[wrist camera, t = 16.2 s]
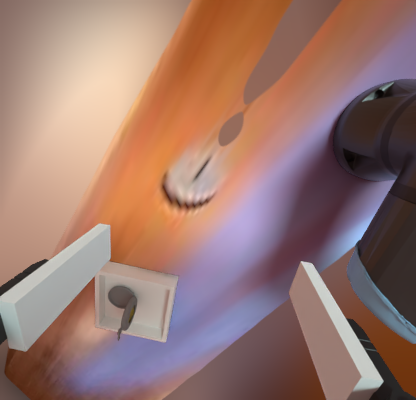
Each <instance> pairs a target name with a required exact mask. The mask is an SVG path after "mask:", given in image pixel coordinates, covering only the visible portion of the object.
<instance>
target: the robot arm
mask: <svg viewBox="0 0 416 400" xmlns="http://www.w3.org/2000/svg"><path fill="white" fill-rule="evenodd" d="M333 146H334V152H335V156H336V158H337V160H338V162H339V163H340V165H341V166H342V167H343V168H344V169H345V170H346V171H348V172H349V173H351V174H353V175H355V176H358V177H360V178H363V179H367V180H372V181H388V180H395V182H394V184H393V186H392V187H391V189H390V191H389V192H388V194H387V195H386V197H385V199H384V201H383V202H382V204H381V206H380V207H379V209H378V211H377V213H376V214H375V216H374V218H373V219H372V221H371V223H370V225H369V226H368V228H367V230H366V232H365V233H364V235H363V237H362V238H361V240H359V241H358V242H357V243H356V246H355V251H354V253H353V255H352V257H351V259H350V262H349V263H348V266H347V275H348V278H349V280H350V282H351V286H352V288H353V290H354V291H355V293H356V294H357V295H358V297H359V299H360V300H361V301H362V302H363V304H364V305H365V306H366V307H367V308H368V309H369V310H370V311H371V312H372V313H373V314H374V315H375V316H376V317H377V318H378V319H379V320H380V321H382V322H383V323H384V324H385V325H386V326H388V327H389V328H390V329H391V330H393V331H394V332H395V333H397V334H398V335H400V336H401V337H403V338H404V339H406V340H408V341H409V342H411V343H414V344H415V343H416V79H400V80H395V81H391V82H387V83H383V84H380V85H377V86H375V87H372V88H370V89H368V90H367V91H365V92H363V93H362V94H361V95H359V96H358V97H357V98H356V99H355V100H353V101H352V102H351V103H350V105H349V106H348V107H347V108H346V109H345V111H344V112H343V114H342V115H341V117H340V119H339V121H338V123H337V126H336V129H335V133H334V139H333ZM110 259H111V245H110V225H106V224H100V223H99V224H98V225H96V226H95V227H94V228H92V229H91V230H90V231H88V232H87V233H86V234H84V235H83V236H82V237H80V238H79V239H77V240H76V241H75V242H73V243H72V244H71V245H69V246H68V247H67V248H65V249H64V250H63V251H61V252H60V253H58V254H57V255H56V256H54V257H53V258H52V259H50V260H46V259H44V260H42V261H39V262H37V263H35V264H33V265H31V266H30V267H28V268H27V269H25V270H24V271H23V272H22V273H20V274H18V275H17V276H15V277H14V279H11V280H10V281H8V282H7V283H5V284H4V285H2V286H1V287H0V344H1V343H2V342H4V341H5V340H6V339H7V341H8V345H9V348H12V349H17V350H21V351H27V350H28V349H29V348H30V347H31V346H32V344H33V343H34V342H35V341H36V340H37V339H38V338H39V337H40V336H41V335H42V333H43V332H44V331H45V330H46V329H47V328H48V327H49V326H50V325H51V324H52V322H53V321H54V320H55V319H56V318H57V317H58V316H59V315H60V314H61V312H62V311H63V310H64V309H65V308H66V307H67V306H68V305H69V304H70V303H71V301H72V300H73V299H74V298H75V297H76V296H77V295H78V294H79V293H80V292H81V290H82V289H83V288H84V287H85V286H86V285H87V284H88V283H89V282H90V281H91V279H92V278H93V277H94V276H95V275H96V274H97V273H98V272H99V271H100V270H101V268H102V267H103V266H104V265H105V264H106V263H107V262H108V261H109V260H110ZM289 295H290V298H291V301H292V304H293V307H294V309H295V312H296V315H297V318H298V321H299V323H300V326H301V329H302V332H303V335H304V338H305V340H306V343H307V346H308V349H309V352H310V355H311V357H312V360H313V363H314V366H315V369H316V371H317V374H318V377H319V380H320V382H321V386H322V388H323V391H324V393H325V397H326V400H416V398H415V397H413V396H411V395H410V394H408V393H407V392H404V391H403V390H402V388H401V386H400V385H399V383H398V382H397V380H396V379H395V377H394V376H393V374H392V373H391V371H390V370H389V368H388V367H387V365H386V364H385V362H384V361H383V359H382V358H381V356H380V355H379V353H378V352H377V350H376V348H375V347H374V345H373V344H372V343H371V342H370V340H369V338H368V336H367V335H366V333H365V332H364V330H363V329H362V328H361V327H360V326H359V325H358V324H357V323H356V322H355V321H354V320H352V319H347V318H345V317H344V315H343V313H342V312H341V310H340V308H339V307H338V305H337V303H336V302H335V300H334V298H333V297H332V295H331V294H330V292H329V290H328V289H327V287H326V285H325V284H324V282H323V280H322V279H321V277H320V275H319V274H318V272H317V270H316V269H315V267H314V265H313V264H312V263H308V262H303V261H301V262H300V264H299V267H298V269H297V272H296V275H295V277H294V280H293V283H292V285H291V288H290V291H289Z"/></svg>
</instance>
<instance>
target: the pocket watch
mask: <svg viewBox="0 0 416 400" xmlns="http://www.w3.org/2000/svg"><path fill="white" fill-rule="evenodd" d="M108 299H109V301H110V302H111V304H113V305H114V306H115V307H117V308H121V309H125V310H124V313H123V316H122V320H121V327H120V329H119V330H118V333H117V334H118V341H119V339H120V333H121V332H122V330H123V331H126V330H127V329H128V328H129V327H130V325H131V323H132V320H133V318H134V315H135V312H136V308H137V298H136V297H135V295H134V293H133V292H132V291H131V290H130V289H128V288H127V287H123V286H116V287H113V288H112V289H111V290H110V291H109V293H108Z"/></svg>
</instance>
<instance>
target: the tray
mask: <svg viewBox="0 0 416 400" xmlns="http://www.w3.org/2000/svg"><path fill="white" fill-rule="evenodd" d="M178 278H179V276H176V275H171V274H166V273H162V272H157V271H153V270H148V269H143V268H139V267H134V266H129V265H125V264H120V263H115V262H111V261H108V262H107V263H106V264H105V265H104V266H103V267H102V268H101V270H100V271H99V272H98V273H97V274H96V275H95V327H96V328H101V329H105V330H110V331H114V332H118V330H119V329H120V327H121V320H122V316H123V313H124V310H125V309H121V308H117V307H115V306H114V305H113V304H111V302H110V301H109V299H108V293H109V291H110V290H111V289H112V288H113V287H116V286H123V287H127V288H128V289H130V290H131V291H132V292H133V293H134V295H135V297H136V298H137V308H136V312H135V315H134V318H133V320H132V323H131V325H130V327H129V328H128V329H127V330H126V331H123V330H122V332H121V333H124V334H128V335H133V336H137V337H142V338H146V339H151V340H156V341H160V342H165V343H166V340H167V336H168V332H169V328H170V323H171V317H172V311H173V306H174V300H175V295H176V289H177V283H178Z"/></svg>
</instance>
